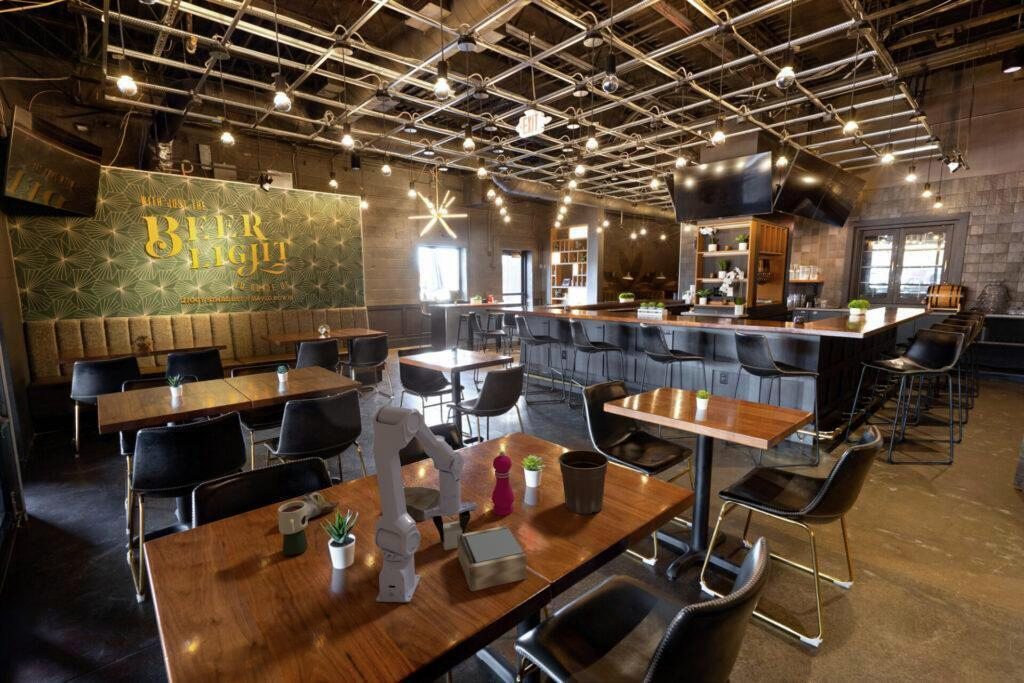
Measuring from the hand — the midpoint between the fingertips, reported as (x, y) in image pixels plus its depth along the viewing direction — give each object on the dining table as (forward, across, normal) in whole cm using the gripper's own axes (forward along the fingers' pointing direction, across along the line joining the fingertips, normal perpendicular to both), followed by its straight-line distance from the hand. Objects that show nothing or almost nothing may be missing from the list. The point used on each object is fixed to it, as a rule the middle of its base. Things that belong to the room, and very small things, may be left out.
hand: (451, 538), depth 126 cm
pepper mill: (+2, -19, -13) cm, 23 cm away
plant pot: (+2, -45, -7) cm, 45 cm away
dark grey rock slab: (+2, +8, -26) cm, 27 cm away
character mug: (+2, +42, -12) cm, 43 cm away
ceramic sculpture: (+2, +40, -31) cm, 50 cm away
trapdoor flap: (-4, -8, +14) cm, 17 cm away
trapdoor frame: (+1, -8, +14) cm, 16 cm away
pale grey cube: (+2, 0, 0) cm, 2 cm away
